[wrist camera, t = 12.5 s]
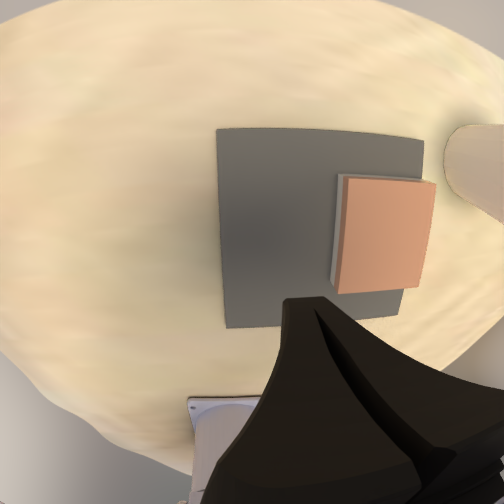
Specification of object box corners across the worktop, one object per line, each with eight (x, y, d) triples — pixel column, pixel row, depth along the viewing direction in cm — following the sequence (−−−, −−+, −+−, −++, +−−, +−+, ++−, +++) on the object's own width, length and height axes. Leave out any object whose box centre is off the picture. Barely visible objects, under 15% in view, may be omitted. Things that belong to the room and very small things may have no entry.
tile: (329, 280, 20) (406, 275, 20) (337, 294, 18) (418, 287, 18) (338, 173, 17) (421, 178, 17) (348, 178, 15) (436, 184, 16)
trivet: (394, 311, 22) (397, 315, 21) (226, 323, 21) (226, 328, 21) (419, 140, 17) (424, 140, 16) (217, 129, 16) (216, 129, 16)
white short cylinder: (493, 117, 16) (559, 127, 10) (496, 200, 19) (555, 228, 12) (432, 117, 16) (504, 123, 10) (438, 212, 19) (502, 249, 13)
